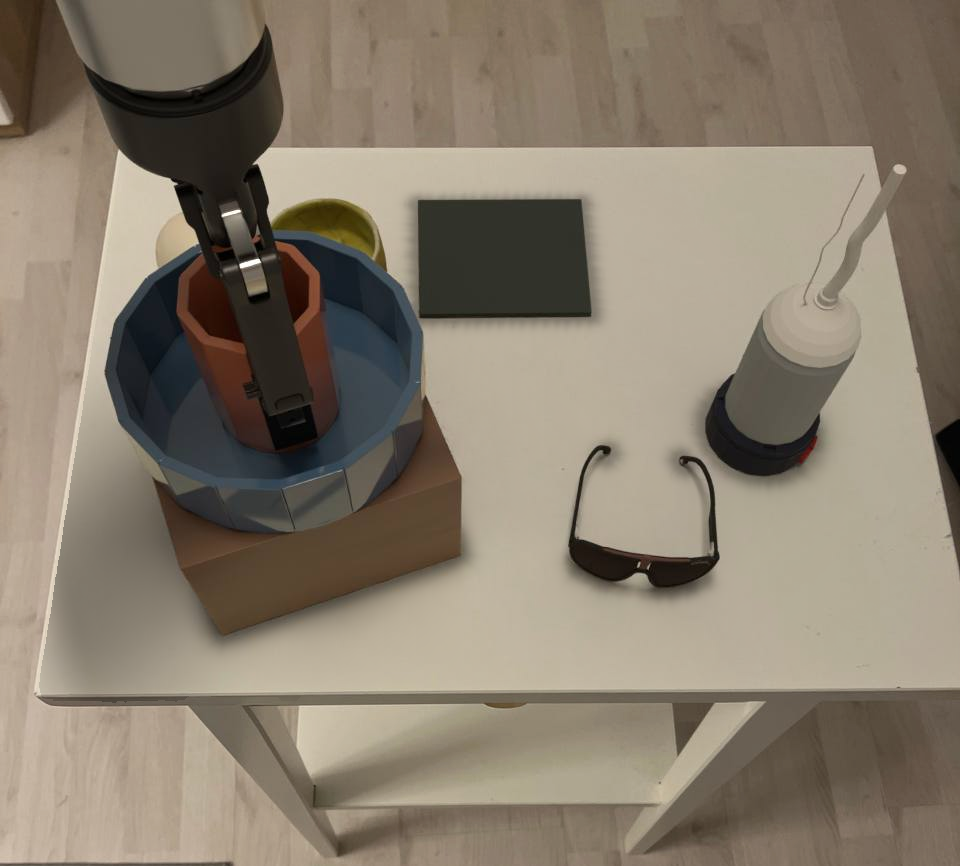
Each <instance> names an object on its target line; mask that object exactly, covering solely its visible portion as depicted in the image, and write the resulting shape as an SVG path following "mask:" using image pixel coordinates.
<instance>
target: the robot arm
mask: <svg viewBox="0 0 960 866" xmlns="http://www.w3.org/2000/svg"><path fill="white" fill-rule="evenodd" d="M55 3H56V5H57V7H58V9H59V12H60V15H61V17H62V20H63V23H64V25H65V28H66V30H67V32H68V35H69V37H70V39H71V42H72V45H73V47H74V49H75V52H76V54H77V56H78V57H79V58H80V59H81V61H82V62H83V67H84V72H85V74H86V77H87V79H88V82H89V84H90V87H91V90H92V92H93V94H94V96H95V100H96V102H97V105H98V107H99V110H100V113H101V115H102V117H103V120H104V122H105V125H106V127H107V130H108V132H109V135H110V137H111V139H112V141H113V143H114V144H115V146H116V147H117V148H118V150H119V151H120V152H121V153H122V154H123V155H124V156H125V157H126V158H127V159H128V160H129V161H130V162H131V163H133V164H134V165H136V166H137V167H139V168H141V169H142V170H144V171H146V172H149V173H151V174H153V175H156V176H158V177H162V178H167V179H169V180H170V181H171V182H172V183H174V185H173V189H174V190H175V191H174V192H175V194H176V197H177V200H178V203H179V205H180V206H179V207H180V208H181V212H183V215H184V217H185V220H186V222H187V224H188V225H189V226H190V227H192V228H193V229H194V230H195V233H196V236H197V239H198V242H199V245H200V248H201V251H202V253H203V256H204V259H205V262H206V265H207V268H208V270H209V273H210V274H211V276H212V277H213V278H215V279H217V280H221V281H222V282H223V283H224V286H225V289H226V292H227V295H228V298H229V301H230V304H231V307H232V310H233V313H234V316H235V319H236V322H237V325H238V328H239V331H240V334H241V337H242V340H243V343H244V346H245V349H246V352H247V355H248V358H249V361H250V364H251V367H252V370H253V373H254V374H252V375H251V378H252V381H250V382H247V383H244V384H242V385H243V388H244V391H245V394H246V396H247V399H248V401H249V400H252V399H255V398H258V399H259V402H260V405H261V408H262V412H263V415H264V418H265V421H266V424H267V427H268V430H269V433H270V436H271V439H272V442H273V445H274V448H275V451H277V450H281V449H284V448H287V447H290V446H294V445H297V444H300V443H303V442H307V441H310V440H313V439H316V438H318V434H317V429H316V425H315V421H314V417H313V413H312V409H311V404H312V403H314V398H313V396H314V392H313V389H312V387H311V386H310V385H309V382H308V378H307V374H306V370H305V366H304V362H303V358H302V355H301V351H300V347H299V343H298V339H297V335H296V331H295V327H294V324H293V320H292V316H291V312H290V308H289V304H288V300H287V297H286V292H285V287H284V282H283V277H282V272H281V267H282V266H283V265H282V261H281V258H280V256H279V253H278V250H277V246H276V243H275V239H274V235H273V232H272V228H271V225H270V222H271V221H270V218H269V215H268V214H269V213H268V208H269V205H270V197H269V195H268V190H267V186H266V183H265V179H264V177H263V174H262V170H261V168H260V165H259V164H258V163H256V162H257V161H258V160H259V158H261V157H262V155H264V153H265V152H267V151H268V149H269V148H271V146H272V144H273V143H274V141H275V140H276V138H277V136H278V134H279V132H280V129H281V127H282V125H283V124H282V123H283V119H284V113H285V112H284V111H285V110H284V108H285V107H284V106H285V105H284V98H283V92H282V86H281V82H280V76H279V71H278V65H277V60H276V55H275V50H274V45H273V39H272V35H271V32H270V29H269V27H268V25H267V23H266V10H265V4H264V0H55ZM255 236H256V237H260V239H259V241H257V242H256V243H253V241H252V239H253V238H254V237H255ZM214 245H215V246H216V245H217V246H219V247H221V248H228V247H232V249H230V250H226V251H223V252H215V251H213V249H212V246H214Z"/></svg>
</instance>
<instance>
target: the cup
mask: <svg viewBox="0 0 960 866" xmlns="http://www.w3.org/2000/svg"><path fill="white" fill-rule="evenodd" d="M259 239H260V237H256V236H255V237H254V238H253V239H252V241H253V243H256V242H257V241H259ZM275 243H276V246H277V250H278V253H279V256H280V258H281V261H282V265H283V266H282V267H281V272H282V277H283V282H284V287H285V292H286V297H287V300H288V304H289V308H290V312H291V316H292V320H293V324H294V327H295V331H296V335H297V339H298V343H299V347H300V351H301V355H302V358H303V362H304V366H305V370H306V374H307V378H308V382H309V385H310V386H311V387H312V389H313V392H314V396H313V398H314V403H312V404H311V409H312V413H313V417H314V421H315V425H316V429H317V434H318V438H316V439H313V440H310V441H307V442H303V443H300V444H297V445H294V446H290V447H287V448H284V449H281V450H277V451H275V448H274V445H273V442H272V439H271V436H270V433H269V430H268V427H267V424H266V421H265V418H264V415H263V412H262V408H261V405H260V402H259V399H258V398H255V399H252V400H249V401H248V399H247V396H246V394H245V391H244V388H243V385H242V384H244V383H247V382H250V381H252V378H251V375H252V374H254V373H253V370H252V367H251V364H250V361H249V358H248V355H247V352H246V349H245V346H244V343H243V340H242V337H241V334H240V331H239V328H238V325H237V322H236V319H235V316H234V313H233V310H232V307H231V304H230V301H229V298H228V295H227V292H226V289H225V286H224V283H223V282H222V281H221V280H217V279H215V278H213V277H212V276H211V274H210V273H209V270H208V268H207V265H206V262H205V259H204V256H203V253H202V254H201V255H200V256H199V257H198V258H197V259H196V260H195V261H194V262H193V263H192V264H191V265H190V266H189V267H188V268H187V269H186V270H185V271H184V272H183V273H182V274H181V275H180V277H179V286H178V299H177V315H178V318H179V320H180V323H181V325H182V328H183V330H184V333H185V335H186V338H187V340H188V343H189V345H190V347H191V350H192V352H193V355H194V357H195V360H196V362H197V365H198V367H199V370H200V372H201V375H202V377H203V380H204V382H205V385H206V387H207V390H208V392H209V395H210V397H211V400H212V402H213V405H214V407H215V410H216V412H217V415H218V416H219V417H220V419H221V420H222V421H223V422H224V424H225V426H226V428H227V429H228V431H229V432H230V433H231V434H232V435H233V436H234V437H235V438H236V439H237V440H238V441H240V442H241V443H243V444H244V445H246V446H248V447H250V448H253V449H256V450H259V451H263V452H270V453H284V452H291V451H295V450H298V449H301V448H304V447H306V446H308V445H310V444H312V443H314V442H315V441H317V440H318V439H319V438H321V437H322V436H323V435H324V434H325V433H326V432H327V431H328V430H329V428H330V427H331V426H332V424H333V423H334V421H335V419H336V417H337V414H338V411H339V405H340V394H339V377H338V371H337V366H336V360H335V355H334V349H333V344H332V339H331V333H330V328H329V322H328V317H327V311H326V306H325V301H324V295H323V290H322V284H321V279H320V275H319V272H318V271H317V270H316V269H315V268H314V267H313V266H312V264H311V263H310V262H309V261H308V260H307V259H306V258H305V257H304V256H303V255H302V254H301V253H300V252H299V250H298V249H297V248H296V247H295V246H293V245H291V244H286V243H282V242H278V241H275ZM212 249H213V251H215V252H223V251H226V250H230V249H232V247H228V248H221V247H219V246H217V245H216V246H215V245H214V246H212Z"/></svg>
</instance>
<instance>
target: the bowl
mask: <svg viewBox="0 0 960 866" xmlns="http://www.w3.org/2000/svg"><path fill="white" fill-rule="evenodd" d="M272 232H273V235H274V239H275V241H278V242H282V243H286V244H291V245H293V246H295V247H296V248H297V249H298V250H299V252H300V253H301V254H302V255H303V256H304V257H305V258H306V259H307V260H308V261H309V262H310V263H311V264H312V266H313V267H314V268H315V269H316V270H317V271H318V272H319V275H320V279H321V284H322V290H323V295H324V301H325V306H326V311H327V317H328V322H329V328H330V333H331V339H332V344H333V349H334V355H335V360H336V366H337V371H338V377H339V394H340V405H339V411H338V414H337V417H336V419H335V421H334V423H333V424H332V426H331V427H330V428H329V430H328V431H327V432H326V433H325V434H324V435H323V436H322V437H321V438H319V439H318V440H317V441H315V442H314V443H312V444H310V445H308V446H306V447H304V448H301V449H298V450H295V451H291V452H284V453H270V452H263V451H259V450H256V449H253V448H250V447H248V446H246V445H244V444H243V443H241V442H240V441H238V440H237V439H236V438H235V437H234V436H233V435H232V434H231V433H230V432H229V431H228V429H227V428H226V426H225V424H224V422H223V421H222V420H221V419H220V417H219V416H218V415H217V412H216V410H215V407H214V405H213V402H212V400H211V397H210V395H209V392H208V390H207V387H206V385H205V382H204V380H203V377H202V375H201V372H200V370H199V367H198V365H197V362H196V360H195V357H194V355H193V352H192V350H191V347H190V345H189V343H188V340H187V338H186V335H185V333H184V330H183V328H182V325H181V323H180V320H179V318H178V315H177V299H178V286H179V277H180V275H181V274H182V273H183V272H184V271H185V270H186V269H187V268H188V267H189V266H190V265H191V264H192V263H193V262H194V261H195V260H196V259H197V258H198V257H199V256H200V255H201V254H202V251H201V248H200V245H199V244H196V245H195V246H192V247H191V248H189V249H188V250H186V251H185V252H183V253H182V254H180V255H179V256H177V257H176V258H174V259H173V260H171V261H170V262H168V263H167V264H165V265H164V266H162V267H161V268H159V269H158V268H157V269H155V271H153V272H151V273H149V274H148V275H147V276H146V277H145V278H144V279H143V281H142V282H141V283H140V285H139V286H138V287H137V289H136V290H135V292H134V293H133V295H132V296H131V297H130V299H129V300H128V302H127V303H126V304H125V305H124V307H123V308H122V310H121V311H120V312H119V313H118V314H117V317H116V318H115V319H114V322H113V325H112V331H111V334H110V337H111V340H109V346H108V350H107V357H106V360H105V365H104V370H103V373H104V377H105V381H106V385H107V388H108V392H109V395H110V398H111V401H112V404H113V407H114V408H113V409H114V412H115V414H116V418H117V421H118V422H117V423H119V425H120V427H121V429H122V430H123V432H124V434H125V436H126V437H127V439H128V441H129V443H130V444H131V446H132V448H133V449H134V451H135V453H136V455H137V456H138V459H139V460H140V462H141V463H142V465H143V467H144V469H145V470H146V471H147V472H148V473H149V475H150V476H151V477H152V476H153V477H154V478H155V479H156V481H157V482H158V483H159V484H160V485H161V487H162V488H163V489H164V490H165V491H166V492H167V493H168V494H169V495H170V496H171V497H172V498H173V499H174V500H175V501H176V502H177V503H178V504H179V505H180V506H182V507H183V508H186V509H188V510H189V511H191V512H192V513H194V514H196V515H198V516H200V517H202V518H204V519H206V520H208V521H210V522H213V523H216V524H219V525H222V526H225V527H228V528H232V529H237V530H242V531H246V532H256V533H289V532H296V531H303V530H309V529H312V528H316V527H320V526H324V525H327V524H329V523H332V522H335V521H337V520H340V519H342V518H345V517H346V516H348V515H350V514H352V513H354V512H356V511H358V510H360V509H361V508H363V507H364V506H366V505H367V504H368V503H370V502H371V501H373V500H374V499H376V498H377V497H378V496H379V495H380V494H381V493H382V492H383V491H385V490H386V489H387V488H388V487H389V486H390V485H391V484H392V483H393V481H394V480H395V479H396V478H397V477H398V476H399V474H400V473H401V472H402V471H403V469H404V467H405V466H406V464H407V463H408V461H409V460H410V458H411V456H412V454H413V452H414V450H415V447H416V445H417V443H418V440H419V438H420V436H421V434H422V432H423V427H424V412H425V394H426V385H427V383H426V382H427V381H426V380H427V379H426V361H425V360H426V358H425V357H426V356H425V337H424V336H425V335H424V331H423V329H422V326H421V324H420V322H419V319H418V317H417V315H416V312H415V310H414V309H413V306H412V304H411V302H410V299H409V296H408V294H407V292H406V291H405V288H404V286H403V285H402V284H401V283H400V282H398V280H396V279H395V277H393V276H392V275H391V274H389V272H388V271H387V272H386V271H385V270H384V269H383V268H381V267H380V266H379V265H378V264H377V263H376V262H375V261H374V260H372V259H371V258H370V257H369V256H368V255H367V254H366V253H364V252H362V251H361V250H358V249H355V248H353V247H350V246H347V245H345V244H342V243H339V242H337V241H334V240H331V239H329V238H326V237H323V236H321V235H318V234H315V233H313V232H311V233H310V232H308V231H281V230H272Z"/></svg>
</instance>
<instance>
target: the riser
mask: <svg viewBox="0 0 960 866" xmlns="http://www.w3.org/2000/svg"><path fill="white" fill-rule="evenodd" d="M109 339H110V340H111V336H110V337H109ZM110 340H109V341H110ZM450 449H451V448H450V447H449V445H448V442H447V440H446V438H445V435H444V433H443V431H442V429H441V426H440V423H439V421H438V419H437V417H436V415H435V412H434V410H433V408H432V405H431V403H430V401H429V398H428V395H427V394H426V393H425V412H424V427H423V432H422V434H421V436H420V438H419V440H418V443H417V445H416V447H415V450H414V452H413V454H412V456H411V458H410V460H409V461H408V463H407V464H406V466H405V467H404V469H403V471H402V472H401V473H400V474H399V476H398V477H397V478H396V479H395V480H394V481H393V483H392V484H391V485H390V486H389V487H388V488H387V489H386V490H385V491H383V492H382V493H381V494H380V495H379V496H378V497H377V498H376V499H374V500H373V501H371V502H370V503H368V504H367V505H366V506H364V507H363V508H361V509H360V510H358V511H356V512H354V513H352V514H350V515H348V516H346V517H345V518H342V519H340V520H337V521H335V522H332V523H329V524H327V525H324V526H320V527H316V528H312V529H309V530H303V531H296V532H289V533H256V532H246V531H242V530H237V529H232V528H228V527H225V526H222V525H219V524H216V523H213V522H210V521H208V520H206V519H204V518H202V517H200V516H198V515H196V514H194V513H192V512H191V511H189V510H188V509H186V508H183V507H182V506H180V505H179V504H178V503H177V502H176V501H175V500H174V499H173V498H172V497H171V496H170V495H169V494H168V493H167V492H166V491H165V490H164V489H163V488H162V487H161V485H160V484H159V483H158V482H157V481H156V479H155V478H154V477H153V476H152V475H151V477H152V480H153V485H154V487H155V490H156V494H157V498H158V501H159V504H160V507H161V511H162V514H163V517H164V521H165V523H166V528H167V530H168V533H169V536H170V540H171V543H172V546H173V550H174V553H175V556H176V560H177V563H178V566H179V569H180V571H181V573H182V574H183V575H184V577H185V579H186V581H187V582H188V584H189V586H190V587H191V588H192V590H193V592H194V593H195V595H196V596H197V598H198V599H199V601H200V603H201V604H202V606H203V608H204V609H205V611H206V612H207V615H208V616H209V617H210V619H211V620H212V622H213V623H214V625H215V627H216V628H217V629H218V631H219V633H220V634H221V636H225V635H227V634H231V633H234V632H237V631H240V630H243V629H245V628H249V627H251V626H254V625H257V624H261V623H263V622H267V621H269V620H272V619H275V618H278V617H282V616H283V615H287V614H290V613H293V612H296V611H299V610H302V609H306V608H308V607H310V606H314V605H317V604H320V603H323V602H326V601H329V600H331V599H335V598H337V597H340V596H345V595H347V594H349V593H353V592H355V591H358V590H362V589H364V588H367V587H370V586H373V585H377V584H379V583H382V582H385V581H388V580H391V579H395V578H397V577H400V576H403V575H406V574H409V573H412V572H415V571H418V570H420V569H424V568H426V567H429V566H432V565H435V564H439V563H442V562H444V561H445V562H446V561H448V560H450V559H453V558H457V557H459V556H461V555H462V554H461V553H462V493H463V477H462V474H461V472H460V470H459V468H458V466H457V463H456V460H455V458H454V456H453V454H452V452H451V450H450Z"/></svg>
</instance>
